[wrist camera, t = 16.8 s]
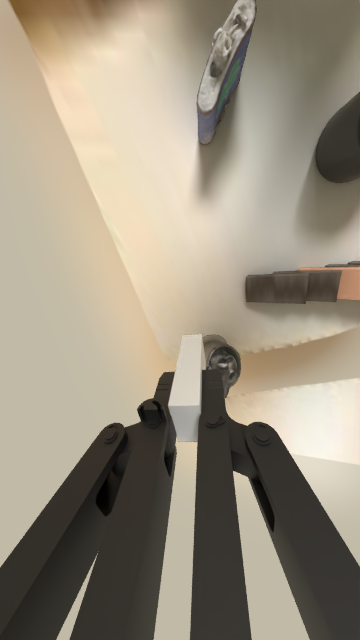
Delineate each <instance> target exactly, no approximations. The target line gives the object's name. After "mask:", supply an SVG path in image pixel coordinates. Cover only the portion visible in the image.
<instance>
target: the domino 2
mask: <svg viewBox="0 0 360 640" xmlns="http://www.w3.org/2000/svg"><path fill="white" fill-rule="evenodd" d="M296 273H309V277H308V286H307V294H306V301H323V302H336V300H337V295H338V290H339V284H340V279H341V274H342V270H320V271H285V272H274V273H273V274H296Z"/></svg>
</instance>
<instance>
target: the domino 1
mask: <svg viewBox="0 0 360 640" xmlns="http://www.w3.org/2000/svg"><path fill="white" fill-rule="evenodd" d="M308 277H309V273H296V274H271V275H248V276H247V277H246V302H267V303H296V304H305V303H306V294H307V286H308Z"/></svg>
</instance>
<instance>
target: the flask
mask: <svg viewBox="0 0 360 640" xmlns="http://www.w3.org/2000/svg"><path fill="white" fill-rule="evenodd" d="M255 16H256V0H237V2H236V3H235V5H234V7H233V8H232V10H231V12H230V14H229V15H228V17H227V19H226V21H225V23H224V25H223V27H222V28H219V29H218V30H217V31H216V33H215V34H214V40H216V41H215V43H214V44H213V43H212V48H213V49H212V51H211V53H210V56H209V59H208V61H207V64H206V68H205V71H204V73H203V77H202V80H201V84H200V87H199V91H198V95H197V113H198V137H199V140H200V142H201V143H202V144H206V145H207V144H208V143H210V141H211V140H212V138H213V137H214V135H215V130H216V128H217V126H218V124H219V122H220V121H221V119H222V118H223V115H224V110H225V106H226V104H227V103H229V99H230V96H231V95H232V94H233V93H234V90H235V89H236V87H237V85H238V83H239V81H240V75H241V71H242V67H243V63H244V60H245V56H246V51H247V47H248V43H249V39H250V36H251V32H252V27H253V25H254V21H255Z"/></svg>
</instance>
